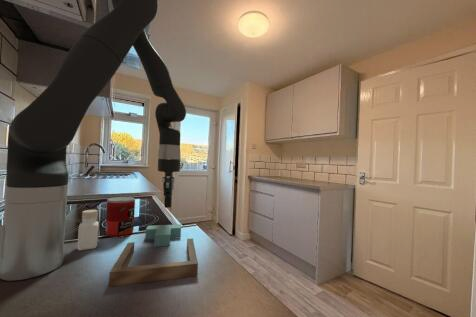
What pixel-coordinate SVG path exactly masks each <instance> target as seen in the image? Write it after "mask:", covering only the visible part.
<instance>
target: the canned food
mask: <svg viewBox="0 0 476 317" xmlns="http://www.w3.org/2000/svg"><path fill="white" fill-rule="evenodd" d="M135 209H136V198H135V197H133V196H132V197H131V196H130V197H129V196H117V197H116V196H115V197H110V198H107V201H106V214H105V216H106V217H105V236H106V237H108V236H112V237H117V238H122V237H121V236H124V237H127V236H126V235H128V236H130V235H131V233H132V234H133V232H134V228H135V212H136V211H135ZM129 234H130V235H129ZM112 237H111V238H112Z"/></svg>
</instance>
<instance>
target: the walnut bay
mask: <svg viewBox="0 0 476 317" xmlns="http://www.w3.org/2000/svg"><path fill="white" fill-rule="evenodd" d="M135 244H136V243H135V242H127V243H126V245H125V246H124V248H123V250H122V252H121V253H120V255H119V256H118V258H117V260H116V261H115V263H114V264H113V266H112V267H111V269H110V271H109V272H108V273H109V275H108V287H115V286H123V285H124V286H125V285H132V284H133V285H134V284H139V283H140V284H141V283H148V282H157V281H167V280H173V279H184V278H190V277H191V278H192V277H197V276H198V275H199V273H198V272H199V271H198V269H199V267H198V266H199V263H198V262H199V261H198V257H197V253H196V247H195V243H194V238H187V239H186V251H187V252H186V254H187V261H185V260H184V261H175V262H166V263H153V264H145V265H134V266H133V265H132V266H128V265H129V263H130V261H131V260H132V257H133V256H134V253H135Z"/></svg>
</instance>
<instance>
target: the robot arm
mask: <svg viewBox="0 0 476 317" xmlns="http://www.w3.org/2000/svg"><path fill="white" fill-rule="evenodd" d="M111 4H112V7H113V9H112V10H111V11H110V12H108V13H107V14H106V15H104V16H103V17H101V18H100V19H99V20H97V21H96V22H94V23H93V24H92V25H91V26H89V27H88V28H87V29H86V30H85V31H84V32H83V33H82V34H81V35H80V37H79V38H78V39H77V40H76V41H75V43H73V45H72V46H71V48H70V49H69V50H68V52H67V54H66V55H65V56H64V58H63V60H62V61H61V65H60V67H59V69H58V71H57V73H56V75H55V76H54V78H53V80H52V81H51V82H50V84H49V85H48V87H46V88H45V89H44V90H43V91H42V92H41V93H40V94H39V95H38V96H37V97H36V98H35V99H34V100H33V101H32V102H31V103H30V104H28V106H27V107H25V108H23V109H22V110H21V111H20V112H18V113H17V114H16V115H15V117H14V118H13V119H12V121H11V122H10V124H9V128H8V130H9V131H8V138H7V139H8V140H7V156H6V180H5V181H6V182H5V197H4V212H3V224H1V225H0V280H3V281H11V282H12V281H22V280H26V279H32V278H35V277H39V276H42V275H45V274H47V273H50V272H52V271H54V270H56V269H58V268H59V267H61V265H62V264H63V263H64V254H65V252H64V249H65V236H66V221H67V220H66V219H67V217H66V216H67V203H68V189H69V188H68V187H69V171H68V169H67V168H68V167H67V148H68V146H69V145H70V143H71V142H72V141H73V140H74V138H75V136H76V135H77V134H76V133H77V131H78V130H79V127H80V125H81V123H82V121H83V119H84V117H85V115H86V114H87V111H88V110H89V107H90V106H91V105H92V103H93V101H94V100H96V98H97V97H98V96H99V95H100V94H101V92H102V91H103V90H104V89H105V87H106V86H107V85H108V83H109V82H110V81H111V80H112V78H113V77H114V76H115V74H116V72H117V71H118V70H119V69H120V66H121V65H122V63H123V61H124V59H125V58H126V57H127V55H128V53H129V52H130V50H131V49H132V47H133V48H134V51H135V52H136V54H137V56H138V58H139V61H140V62H141V63H140V64H141V66H142V68H143V69H144V72H145V75H146V78H147V81H148V83H149V86H150V89H151V91H152V93H153V95H154V96H155V97H158V98H162V99H163V100H164V101H165V102H160V103H159V104H157V106H156V108H155V111H154V112H155V114H154V115H155V120H156V124H157V128H158V133H159V140H158V141H159V145H158V152H157V171H158V173H159V172H162V173H164V176H162V191H163V197H164V202H163V204H164V205H163V207H164V208H166V209H167V208H169V209H170V208H171V207H172V196H173V190H174V186H175V185H174V184H175V178H176V177H175V176H173V173H178V172H180V171H181V131H180V130H178V128H177V129H176V128H173V127H172V125H171V123H179V122H183V121H184V120H185V119H186V116H187V110H186V107H185V104H184V102H183V101H182V99H181V98H180V95H179V94H178V92H177V91H176V89H175V87H174V85H173V82H172V78H171V74H170V72H169V68H168V66H167V65H166V63H165V61H164V60H163V59H162V57H161V56H160V55H159V53H158V52H157V51H156V49H155V47H153V45H152V44H151V42H150V40H149V38H148V36H147V33H146V31H145V29H146V28H147V26H148V25H150V24H151V23H152V22H153V21H154V19H155V18H156V17H157V14H158V11H159V1H158V0H111Z"/></svg>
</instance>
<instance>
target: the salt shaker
mask: <svg viewBox="0 0 476 317" xmlns="http://www.w3.org/2000/svg"><path fill="white" fill-rule="evenodd" d="M81 215H82V216H81V219H82V221H81V223H80V224H79V225H78V233H77V247H76V249H77V250H78V251H87V250H92V249H93V250H94V249H95V248H97V245H98V243H99V242H98V241H99V226H100V222H99V221H98V220H97V218H98V210H97V209H87V210H83V211H82V212H81Z"/></svg>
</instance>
